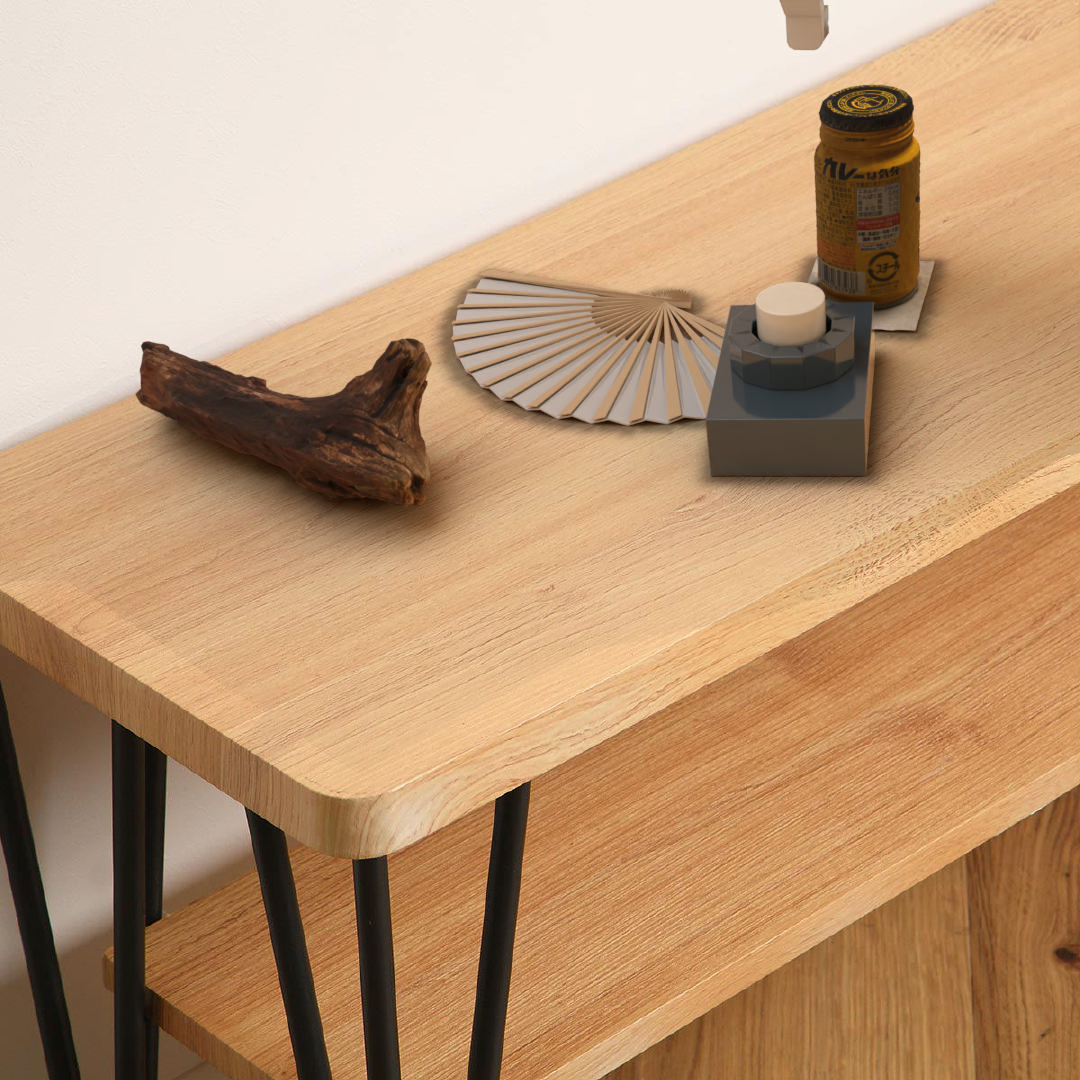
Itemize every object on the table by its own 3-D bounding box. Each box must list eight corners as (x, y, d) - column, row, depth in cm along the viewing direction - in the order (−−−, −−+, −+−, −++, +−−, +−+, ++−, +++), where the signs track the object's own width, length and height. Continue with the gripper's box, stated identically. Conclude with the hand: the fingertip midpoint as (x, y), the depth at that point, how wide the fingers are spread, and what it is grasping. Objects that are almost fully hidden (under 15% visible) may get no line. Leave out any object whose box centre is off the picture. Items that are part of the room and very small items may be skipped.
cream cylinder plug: (828, 314, 87) (827, 280, 85) (824, 348, 84) (822, 313, 83) (760, 315, 88) (758, 281, 86) (754, 350, 85) (752, 315, 84)
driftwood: (497, 468, 88) (473, 339, 84) (409, 551, 83) (378, 418, 79) (194, 393, 100) (159, 276, 95) (101, 463, 95) (58, 342, 90)
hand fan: (529, 253, 109) (366, 351, 101) (527, 242, 109) (364, 340, 101) (862, 351, 93) (701, 477, 85) (862, 339, 93) (700, 465, 85)
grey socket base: (874, 355, 92) (873, 269, 89) (866, 476, 83) (863, 384, 80) (734, 358, 94) (728, 273, 91) (710, 476, 85) (702, 386, 82)
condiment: (934, 264, 100) (936, 76, 93) (915, 333, 94) (915, 137, 87) (816, 261, 102) (809, 77, 95) (790, 328, 96) (780, 137, 89)
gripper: (834, -227, 68) (842, 90, 76) (936, -328, 83) (933, -53, 91) (691, -219, 70) (713, 87, 79) (814, -319, 85) (822, -52, 93)
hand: (832, 11), depth 85 cm, fingers open, 8 cm apart
